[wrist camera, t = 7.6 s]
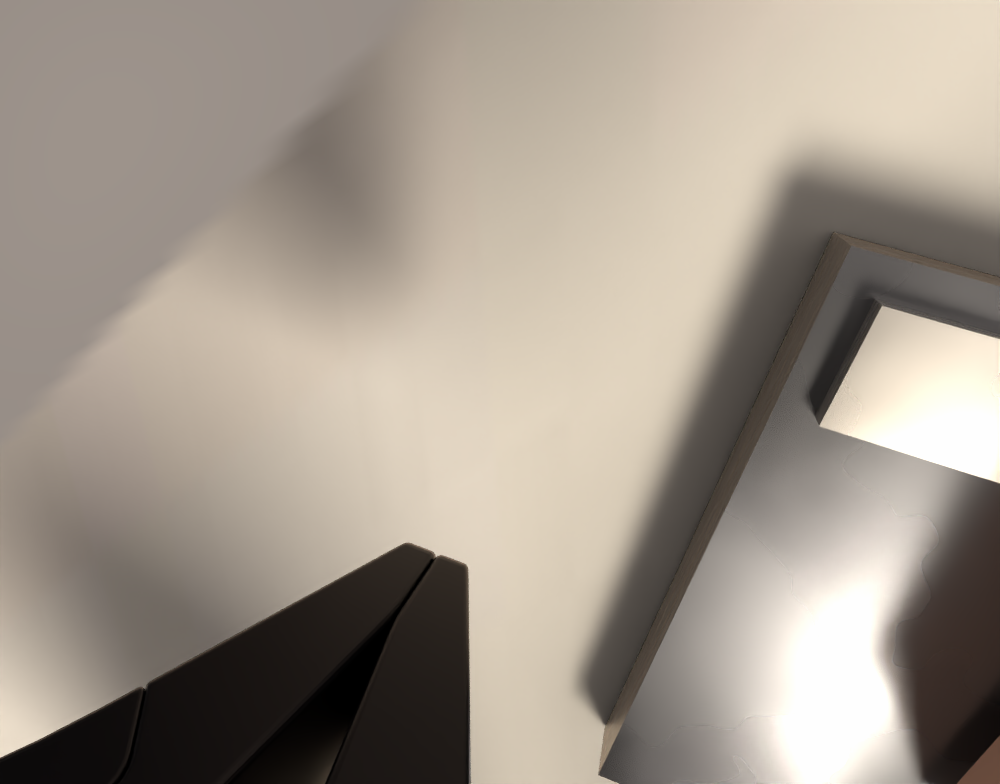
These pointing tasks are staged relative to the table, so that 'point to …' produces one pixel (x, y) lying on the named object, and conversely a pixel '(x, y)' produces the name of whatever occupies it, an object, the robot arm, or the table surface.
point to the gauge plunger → (985, 767)
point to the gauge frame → (841, 552)
